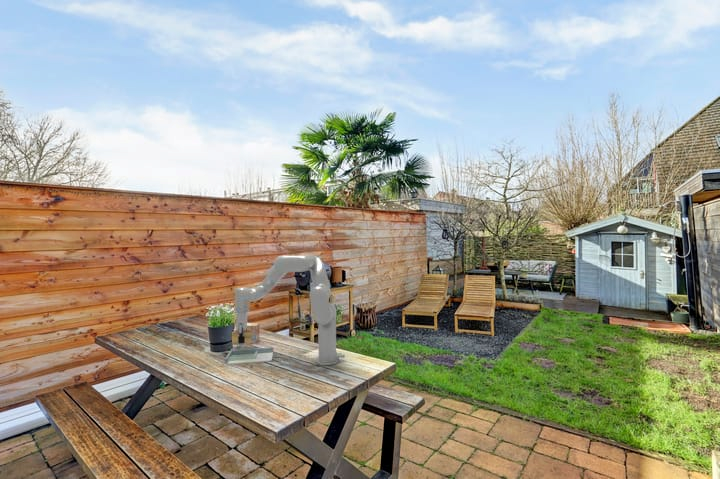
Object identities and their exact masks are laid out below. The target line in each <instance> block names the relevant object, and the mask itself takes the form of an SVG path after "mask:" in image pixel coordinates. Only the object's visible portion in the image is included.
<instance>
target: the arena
mask: <svg viewBox="0 0 720 479" xmlns="http://www.w3.org/2000/svg"><path fill="white" fill-rule="evenodd" d="M273 355H274V347H273V346H272V347H260V348H258V347H257V348H245V349H244V348H243V349H231V350H229V352H228V354H227V355H226V357H225V359H224V364H227V365H236V364H237V365H238V364H239V365H240V364H252V363H253V364H254V363H266V362H272V361H273V360H272V359H273Z"/></svg>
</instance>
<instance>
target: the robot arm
mask: <svg viewBox="0 0 720 479" xmlns="http://www.w3.org/2000/svg"><path fill="white" fill-rule="evenodd" d="M307 271H310V274H311V275H310V276H311V281H312V288H311V289H310V292H309V304H310V307H311V311H312V316H313V319H314V321H315V322H316V323H317V324H318V328H317V334H318V338H317V341H318V357H317V358H316V359H315V363H316V364H318V365H320V366H332V365H335V364H339V361H340V358H344V359H345V358H346V355H345V353H342V352H337V308H336V306H335V305H334V304H333V303H331V302H329V301H330V300H329V299H330V297H331V295H332V291H331V287H330V281H329V278H328V274H327V269H326V265H325V264H324V262H323V260H322V259H321V258H320V257H319V256H316V255H314V254H304V255H289V254H282V255H279V256H277V257H276V258H274V261H273V265H272V266H271V267H270V268H269V269H267V270H266V272H265V274H266V276H265V278H264V279H263V280H262V281H261V282H260V283H258V285H256V286H253V287H251V288H249V287H247V286H240V287H239V286H237V288H235V290H234V313H235V314H236V315H235V316H236V318H235V327H236V331H238V329H239V336H238V343H244V342H245V336H244V330H246V327H247V323H248V313H249V312H250V302H251V303H252V302H254V303H255V302H257V301H259V300H261V299H263V298H265V297H266V296H267V295H268V294H269V293H270V292H271V291H272V290H273V289H274V288H275V287H276V285H277V284H278V283H279V282H280V281H281V280H282V279H283V278H284V277H285V276H286V274H288V273H302V272H307ZM242 331H243V332H242Z"/></svg>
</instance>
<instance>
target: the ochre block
mask: <svg viewBox="0 0 720 479" xmlns="http://www.w3.org/2000/svg"><path fill="white" fill-rule="evenodd" d="M242 332H243V331H242ZM238 336H239V331H233V332H232V344H231V345H243V344H242V343H238ZM244 336H245V342H244V343H251V341H252V330H244Z"/></svg>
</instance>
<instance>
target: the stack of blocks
mask: <svg viewBox="0 0 720 479" xmlns="http://www.w3.org/2000/svg"><path fill="white" fill-rule="evenodd" d="M234 327H235V329H234V331H236V326H234ZM260 328H261V327H260V322H259V323H258V322H247V327H246V330H252V341H251V343H242V344H241V345H253V344H256V345H258V344H259V343H260V334H261V333H260V331H261V330H260ZM238 331H239V329H238Z"/></svg>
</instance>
